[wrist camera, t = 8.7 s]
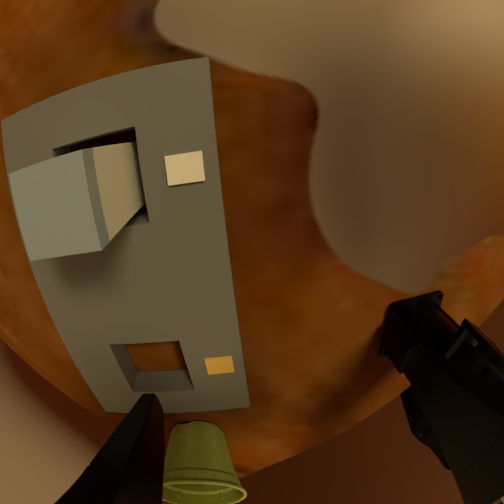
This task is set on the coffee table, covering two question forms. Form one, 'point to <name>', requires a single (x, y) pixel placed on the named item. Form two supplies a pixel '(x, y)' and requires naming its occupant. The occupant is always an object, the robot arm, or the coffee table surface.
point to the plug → (77, 199)
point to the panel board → (145, 241)
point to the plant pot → (199, 467)
